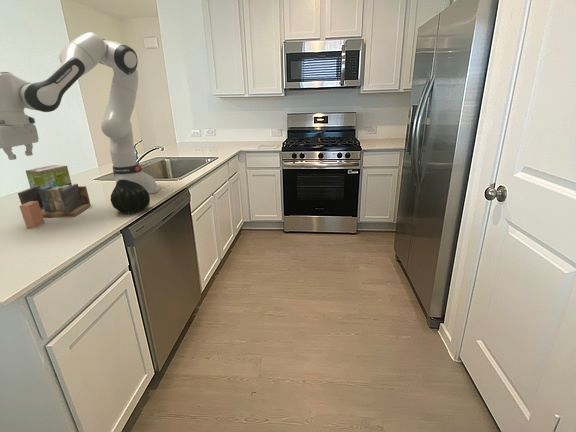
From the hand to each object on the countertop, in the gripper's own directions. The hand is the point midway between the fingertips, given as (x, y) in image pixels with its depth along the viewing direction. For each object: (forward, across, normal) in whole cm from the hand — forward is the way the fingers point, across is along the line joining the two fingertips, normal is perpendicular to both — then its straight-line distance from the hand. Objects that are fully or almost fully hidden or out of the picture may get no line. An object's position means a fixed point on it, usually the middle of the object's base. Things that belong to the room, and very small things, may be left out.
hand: (21, 157), depth 120 cm
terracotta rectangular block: (+26, -6, -2) cm, 27 cm away
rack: (+26, +9, -3) cm, 27 cm away
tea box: (+26, +39, +15) cm, 49 cm away
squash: (+25, +5, -35) cm, 43 cm away
